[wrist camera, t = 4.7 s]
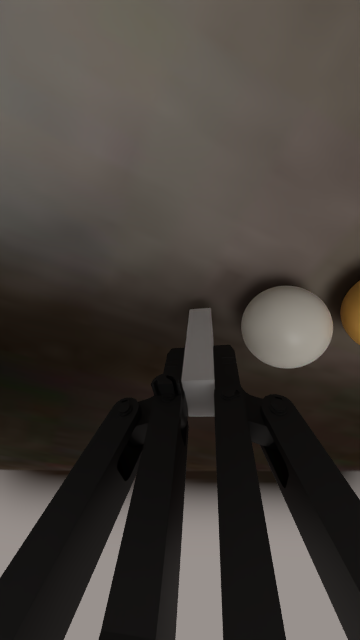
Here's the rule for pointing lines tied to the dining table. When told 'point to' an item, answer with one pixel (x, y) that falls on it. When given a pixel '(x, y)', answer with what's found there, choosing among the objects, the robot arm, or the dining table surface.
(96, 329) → the dining table surface
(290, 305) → the ivory ball
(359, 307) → the orange ball
